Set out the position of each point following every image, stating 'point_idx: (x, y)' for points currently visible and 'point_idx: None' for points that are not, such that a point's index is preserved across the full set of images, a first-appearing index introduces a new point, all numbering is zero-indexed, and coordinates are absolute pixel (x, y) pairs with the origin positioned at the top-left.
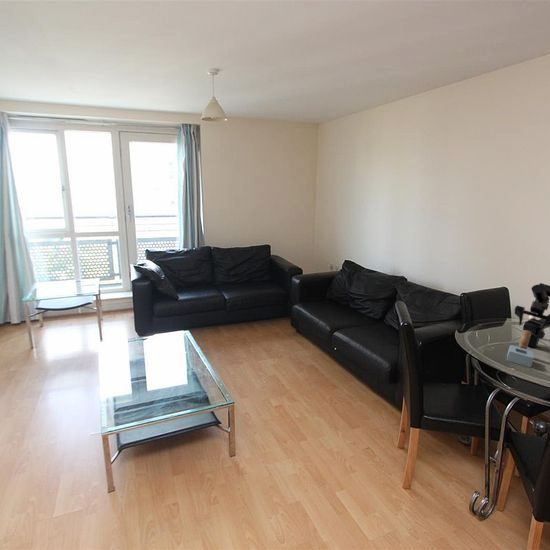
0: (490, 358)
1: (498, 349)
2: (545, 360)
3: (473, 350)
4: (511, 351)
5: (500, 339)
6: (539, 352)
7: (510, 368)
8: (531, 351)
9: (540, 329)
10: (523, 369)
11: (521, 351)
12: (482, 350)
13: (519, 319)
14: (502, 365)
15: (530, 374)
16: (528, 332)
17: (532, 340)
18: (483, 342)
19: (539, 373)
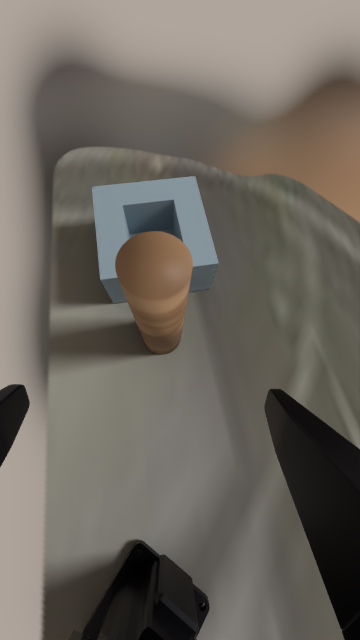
0: (237, 184)
1: (254, 308)
2: (48, 379)
3: (308, 203)
4: (187, 181)
5: None
6: (79, 504)
7: (162, 161)
8: (108, 267)
9: (11, 394)
10: None
11: None
12: (289, 232)
13: (355, 447)
14: (189, 163)
15: (100, 167)
16: (140, 241)
17: (130, 610)
18: (337, 336)
19: (73, 199)
